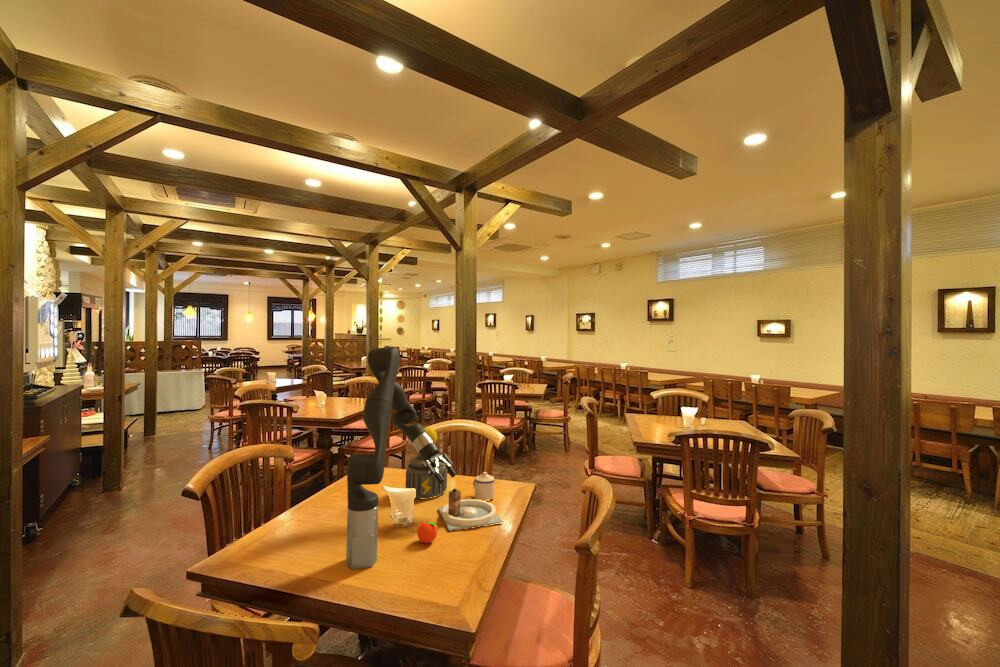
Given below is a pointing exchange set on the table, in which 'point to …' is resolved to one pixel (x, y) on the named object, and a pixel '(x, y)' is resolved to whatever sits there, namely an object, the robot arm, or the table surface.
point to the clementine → (427, 532)
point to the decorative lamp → (425, 475)
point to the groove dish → (470, 514)
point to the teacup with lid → (484, 486)
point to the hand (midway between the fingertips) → (448, 479)
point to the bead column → (454, 502)
